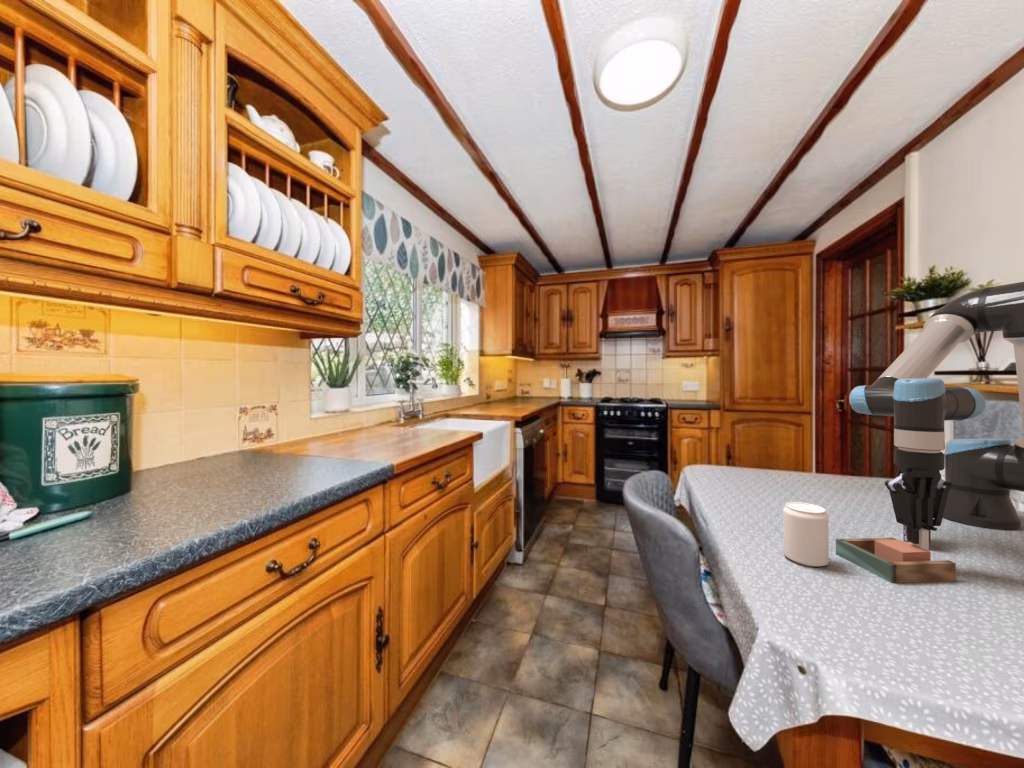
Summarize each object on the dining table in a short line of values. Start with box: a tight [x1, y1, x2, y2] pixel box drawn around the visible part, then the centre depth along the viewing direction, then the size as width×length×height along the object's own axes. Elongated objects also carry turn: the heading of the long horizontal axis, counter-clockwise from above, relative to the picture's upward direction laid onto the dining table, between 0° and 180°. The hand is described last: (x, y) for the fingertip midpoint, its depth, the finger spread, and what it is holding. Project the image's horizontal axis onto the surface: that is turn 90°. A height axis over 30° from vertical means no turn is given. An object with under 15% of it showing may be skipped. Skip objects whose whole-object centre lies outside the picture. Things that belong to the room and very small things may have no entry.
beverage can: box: [782, 501, 830, 568], centre depth 86 cm, size 8×8×12 cm
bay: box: [835, 537, 957, 583], centre depth 82 cm, size 14×12×4 cm
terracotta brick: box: [875, 539, 932, 562], centre depth 82 cm, size 6×6×4 cm
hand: (918, 557), depth 83 cm, fingers closed
